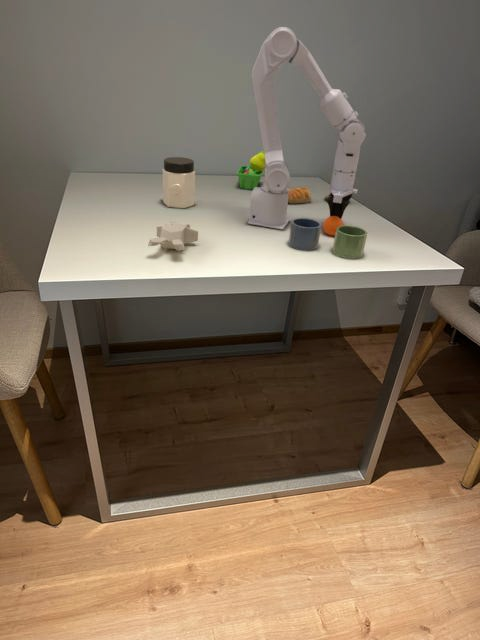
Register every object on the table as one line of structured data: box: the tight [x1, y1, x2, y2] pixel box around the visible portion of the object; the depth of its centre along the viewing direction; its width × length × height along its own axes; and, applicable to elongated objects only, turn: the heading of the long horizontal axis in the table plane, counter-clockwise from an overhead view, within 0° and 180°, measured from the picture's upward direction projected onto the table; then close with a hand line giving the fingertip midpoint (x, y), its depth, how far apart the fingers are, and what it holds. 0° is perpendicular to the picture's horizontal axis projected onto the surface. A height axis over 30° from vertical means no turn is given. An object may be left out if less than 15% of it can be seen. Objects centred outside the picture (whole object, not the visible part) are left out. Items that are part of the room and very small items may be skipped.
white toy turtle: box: [147, 221, 199, 252], centre depth 104 cm, size 10×5×15 cm
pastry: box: [288, 187, 312, 205], centre depth 142 cm, size 9×7×4 cm
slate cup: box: [288, 217, 323, 252], centre depth 111 cm, size 7×7×6 cm
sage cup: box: [332, 224, 368, 260], centre depth 108 cm, size 7×7×6 cm
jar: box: [162, 156, 196, 209], centre depth 129 cm, size 9×8×12 cm
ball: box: [322, 215, 344, 237], centre depth 119 cm, size 5×5×5 cm
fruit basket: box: [236, 150, 266, 190], centre depth 152 cm, size 11×9×11 cm
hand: (335, 222), depth 123 cm, fingers open, 4 cm apart
